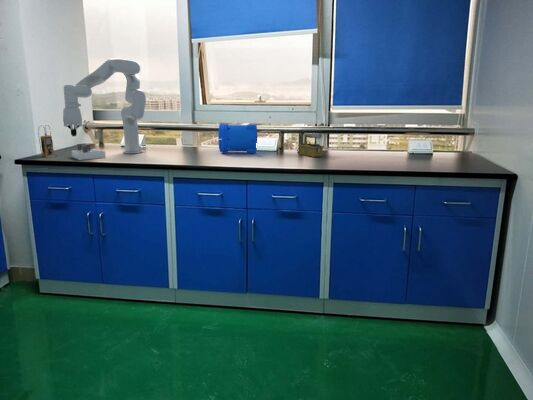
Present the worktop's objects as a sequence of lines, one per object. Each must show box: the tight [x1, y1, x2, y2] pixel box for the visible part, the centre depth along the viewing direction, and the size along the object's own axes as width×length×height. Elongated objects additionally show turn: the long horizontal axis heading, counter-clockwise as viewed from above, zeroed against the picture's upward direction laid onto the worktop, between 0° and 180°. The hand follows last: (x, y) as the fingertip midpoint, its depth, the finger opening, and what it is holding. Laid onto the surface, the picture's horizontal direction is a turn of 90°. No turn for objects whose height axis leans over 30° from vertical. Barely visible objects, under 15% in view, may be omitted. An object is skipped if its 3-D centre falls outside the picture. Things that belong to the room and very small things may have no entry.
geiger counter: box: [297, 132, 325, 158], centre depth 297 cm, size 9×26×15 cm, turn 32°
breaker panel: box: [71, 148, 106, 161], centre depth 283 cm, size 16×16×4 cm
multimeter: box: [37, 125, 58, 159], centre depth 285 cm, size 15×10×20 cm
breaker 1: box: [76, 143, 83, 150], centre depth 284 cm, size 2×2×4 cm
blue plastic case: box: [217, 123, 258, 154], centre depth 308 cm, size 25×22×19 cm
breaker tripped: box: [84, 143, 91, 151], centre depth 282 cm, size 2×2×4 cm
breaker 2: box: [82, 145, 88, 152], centre depth 275 cm, size 2×2×4 cm
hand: (74, 136), depth 275 cm, fingers closed
